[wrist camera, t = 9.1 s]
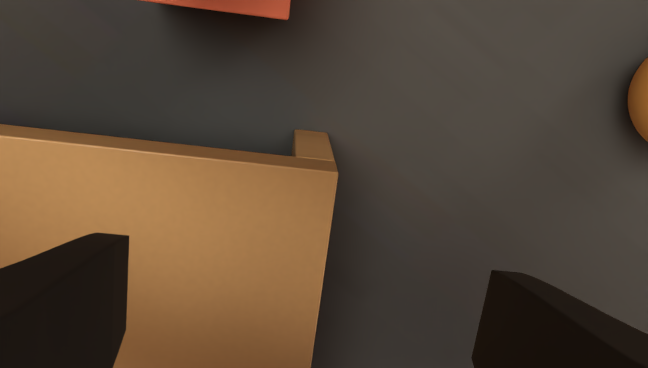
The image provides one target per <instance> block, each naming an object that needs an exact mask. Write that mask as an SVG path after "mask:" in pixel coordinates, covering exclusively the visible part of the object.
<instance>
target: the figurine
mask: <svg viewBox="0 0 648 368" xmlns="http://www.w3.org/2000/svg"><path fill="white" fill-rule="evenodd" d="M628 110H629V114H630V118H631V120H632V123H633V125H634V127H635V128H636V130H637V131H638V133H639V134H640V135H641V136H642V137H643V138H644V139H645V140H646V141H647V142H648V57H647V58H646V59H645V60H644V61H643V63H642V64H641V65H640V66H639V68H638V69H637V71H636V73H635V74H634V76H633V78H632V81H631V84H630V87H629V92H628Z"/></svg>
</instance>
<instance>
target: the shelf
mask: <svg viewBox="0 0 648 368" xmlns="http://www.w3.org/2000/svg"><path fill="white" fill-rule="evenodd" d="M337 181H338V170H337V166H336V163H335V160H334V156H333V152H332V149H331V145H330V141H329V138H328V134H327V133H323V132H315V131H306V130H297V129H296V130H295V131H294V137H293V146H292V154H291V156H283V155H274V154H265V153H256V152H247V151H238V150H229V149H220V148H211V147H202V146H193V145H184V144H175V143H166V142H157V141H148V140H139V139H130V138H121V137H112V136H103V135H94V134H85V133H76V132H67V131H58V130H50V129H41V128H32V127H23V126H14V125H5V124H0V268H3V267H6V266H8V265H11V264H14V263H17V262H19V261H22V260H25V259H27V258H30V257H32V256H35V255H37V254H39V253H42V252H44V251H47V250H49V249H52V248H54V247H57V246H59V245H62V244H64V243H66V242H69V241H72V240H74V239H77V238H79V237H82V236H85V235H88V234H92V233H97V232H98V233H108V234H119V235H129V261H128V290H127V319H126V332H125V334H124V337H123V340H122V343H121V346H120V349H119V352H118V355H117V358H116V360H115V363H114V366H113V368H311V362H312V355H313V348H314V341H315V334H316V327H317V320H318V313H319V306H320V299H321V292H322V285H323V278H324V272H325V265H326V258H327V251H328V244H329V237H330V230H331V223H332V216H333V209H334V202H335V195H336V188H337Z"/></svg>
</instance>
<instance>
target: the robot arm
mask: <svg viewBox="0 0 648 368" xmlns="http://www.w3.org/2000/svg"><path fill="white" fill-rule="evenodd" d="M128 261H129V235H119V234H108V233H98V232H97V233H92V234H88V235H85V236H82V237H79V238H77V239H74V240H72V241H69V242H66V243H64V244H62V245H59V246H57V247H54V248H52V249H49V250H47V251H44V252H42V253H39V254H37V255H35V256H32V257H30V258H27V259H25V260H22V261H19V262H17V263H14V264H11V265H8V266H6V267H3V268H0V368H113V366H114V363H115V360H116V358H117V355H118V352H119V349H120V346H121V343H122V340H123V337H124V334H125V332H126V319H127V290H128ZM472 361H473V365H474V368H648V334H646V333H644V332H642V331H640V330H638V329H636V328H633V327H631V326H629V325H627V324H625V323H623V322H621V321H619V320H617V319H615V318H613V317H611V316H609V315H607V314H605V313H604V312H602V311H600V310H598V309H596V308H594V307H592V306H590V305H588V304H586V303H584V302H583V301H581V300H579V299H577V298H575V297H573V296H571V295H569V294H567V293H565V292H563V291H562V290H560V289H558V288H556V287H554V286H552V285H550V284H548V283H545V282H543V281H541V280H539V279H537V278H534V277H532V276H529V275H526V274H523V273H518V272H507V271H497V270H492V271H491V275H490V280H489V284H488V288H487V293H486V297H485V301H484V306H483V310H482V314H481V319H480V323H479V328H478V332H477V336H476V341H475V345H474V349H473V354H472Z"/></svg>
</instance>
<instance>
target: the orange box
mask: <svg viewBox="0 0 648 368" xmlns="http://www.w3.org/2000/svg"><path fill="white" fill-rule="evenodd" d="M139 1H147V2H154V3H162V4H169V5H177V6H184V7H192V8H200V9H207V10H215V11H222V12H230V13H237V14H245V15H252V16H260V17H267V18H275V19H283V20H288V18H289V10H290V1H291V0H139Z"/></svg>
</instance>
